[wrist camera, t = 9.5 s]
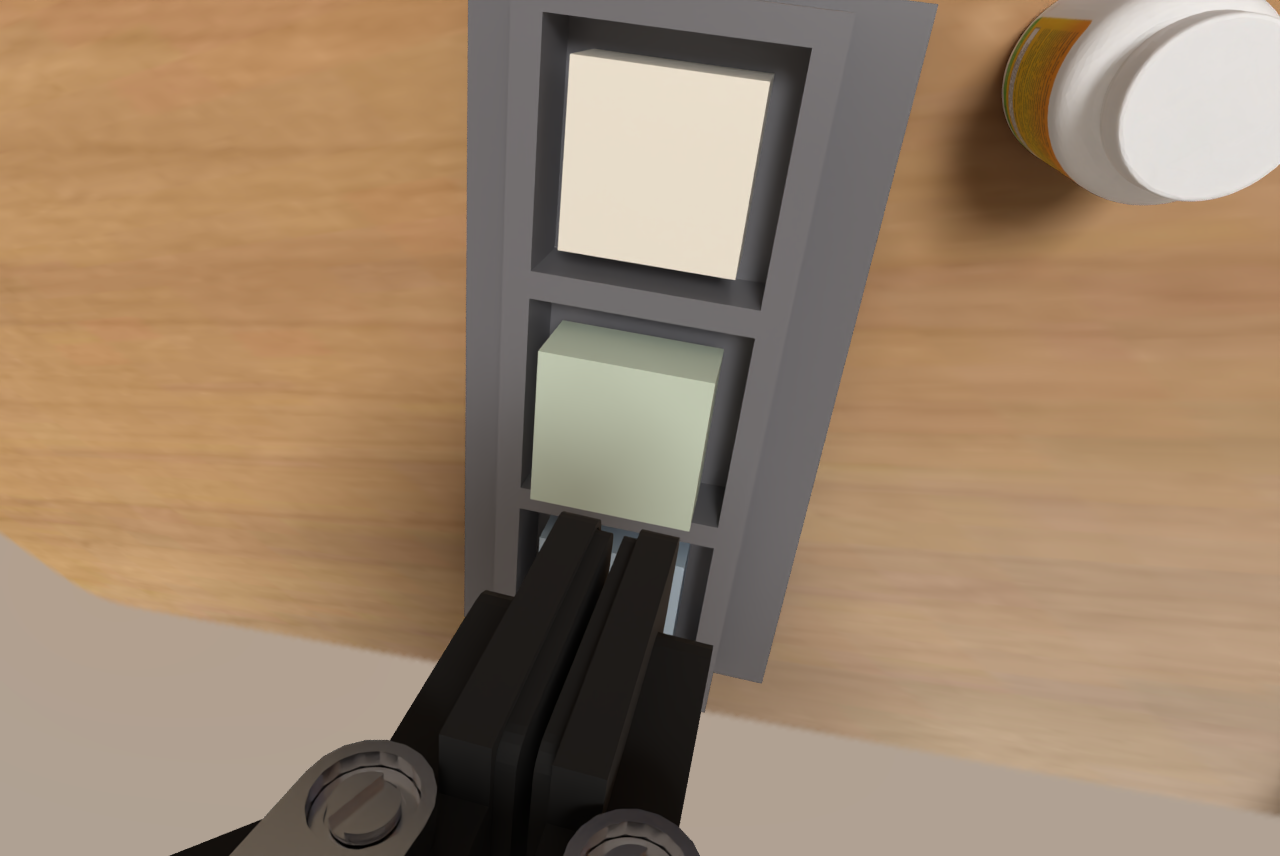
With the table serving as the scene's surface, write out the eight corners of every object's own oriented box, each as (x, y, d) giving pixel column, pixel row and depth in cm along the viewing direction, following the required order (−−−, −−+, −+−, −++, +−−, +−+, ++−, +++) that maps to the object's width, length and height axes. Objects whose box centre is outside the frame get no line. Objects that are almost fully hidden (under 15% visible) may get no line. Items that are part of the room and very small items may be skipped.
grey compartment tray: (929, 4, 26) (952, 4, 22) (764, 654, 40) (758, 733, 36) (489, -52, 28) (430, -62, 23) (478, 591, 42) (440, 659, 38)
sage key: (724, 349, 29) (715, 383, 26) (699, 488, 32) (689, 531, 29) (562, 320, 29) (538, 351, 27) (553, 458, 32) (530, 498, 30)
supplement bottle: (1046, 194, 28) (1145, 277, 20) (968, 61, 27) (1039, 89, 18) (1210, 93, 26) (1402, 138, 17) (1135, -59, 24) (1305, -90, 16)
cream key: (774, 73, 26) (770, 81, 23) (742, 254, 29) (735, 280, 26) (593, 48, 26) (569, 54, 24) (580, 228, 29) (557, 250, 27)
